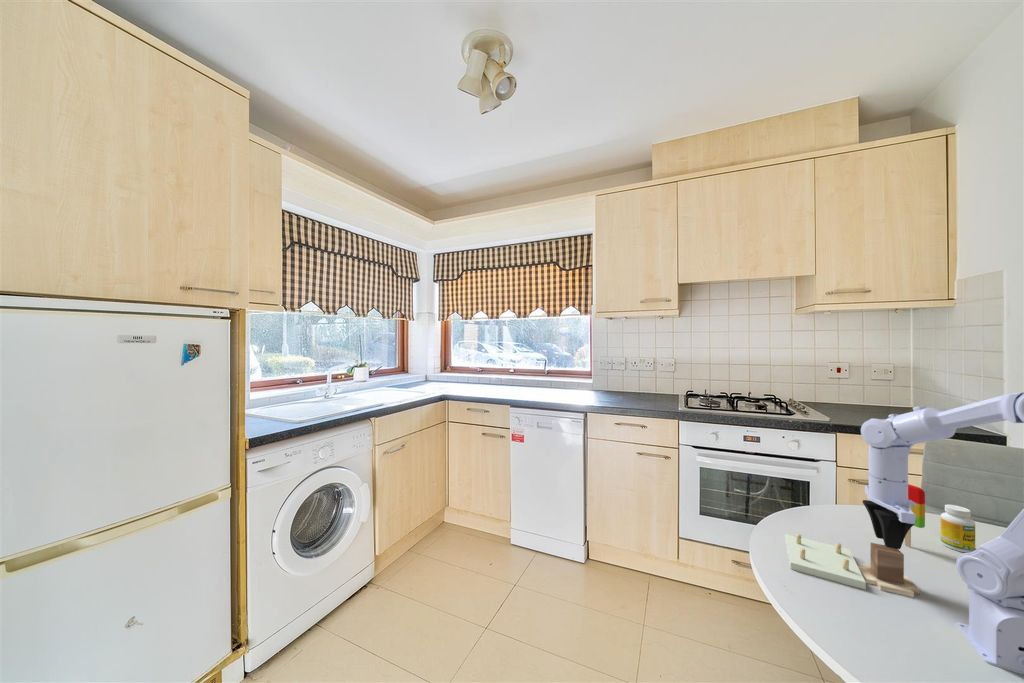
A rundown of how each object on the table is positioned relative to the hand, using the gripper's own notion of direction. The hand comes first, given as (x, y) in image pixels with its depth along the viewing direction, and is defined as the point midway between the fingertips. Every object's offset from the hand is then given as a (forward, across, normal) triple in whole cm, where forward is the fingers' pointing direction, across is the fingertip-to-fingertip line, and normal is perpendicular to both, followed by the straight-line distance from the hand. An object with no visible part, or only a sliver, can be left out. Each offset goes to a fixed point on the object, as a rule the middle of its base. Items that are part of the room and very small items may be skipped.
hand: (887, 542), depth 75 cm
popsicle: (+8, +20, -12) cm, 24 cm away
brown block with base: (+8, 0, 0) cm, 8 cm away
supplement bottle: (+8, +24, -22) cm, 34 cm away
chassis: (+8, +3, +10) cm, 13 cm away
